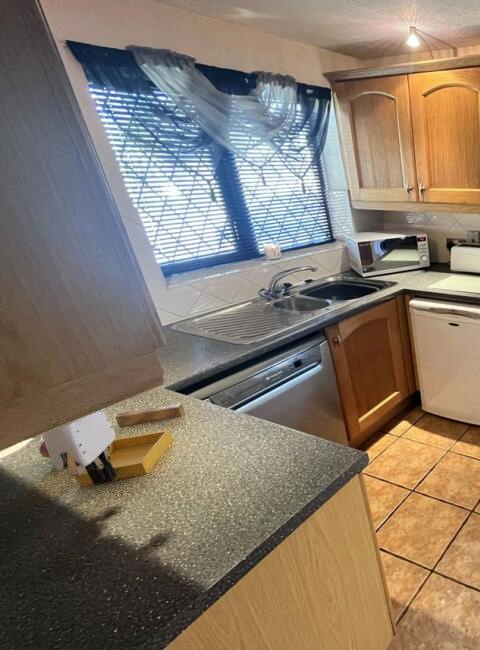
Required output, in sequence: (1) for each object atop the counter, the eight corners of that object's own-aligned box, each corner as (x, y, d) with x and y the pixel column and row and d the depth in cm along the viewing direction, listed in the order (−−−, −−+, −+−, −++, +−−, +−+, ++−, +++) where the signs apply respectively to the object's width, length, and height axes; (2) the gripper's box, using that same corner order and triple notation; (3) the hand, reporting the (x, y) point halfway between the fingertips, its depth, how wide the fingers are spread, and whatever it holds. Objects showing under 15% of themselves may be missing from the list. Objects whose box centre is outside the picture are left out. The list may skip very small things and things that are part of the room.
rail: (119, 426, 102) (114, 417, 101) (123, 422, 104) (119, 413, 103) (181, 416, 106) (178, 407, 105) (184, 412, 108) (181, 403, 106)
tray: (80, 486, 83) (73, 475, 82) (115, 449, 94) (110, 439, 92) (147, 473, 86) (142, 462, 85) (173, 439, 97) (169, 429, 96)
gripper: (72, 392, 81) (107, 460, 88) (10, 437, 68) (57, 513, 75) (115, 386, 83) (146, 453, 90) (63, 428, 70) (104, 503, 77)
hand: (106, 480), depth 82 cm, fingers closed
